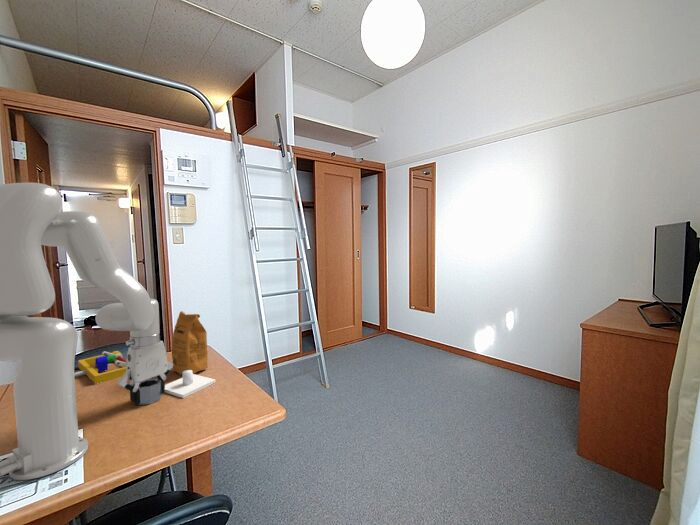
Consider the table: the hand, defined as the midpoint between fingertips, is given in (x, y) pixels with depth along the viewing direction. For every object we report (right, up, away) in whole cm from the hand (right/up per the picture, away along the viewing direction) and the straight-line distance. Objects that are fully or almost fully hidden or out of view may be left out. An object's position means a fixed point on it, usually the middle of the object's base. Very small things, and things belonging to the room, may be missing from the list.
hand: (148, 397), depth 96 cm
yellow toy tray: (-33, -1, +23) cm, 41 cm away
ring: (0, -1, 0) cm, 1 cm away
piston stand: (+8, 0, +9) cm, 12 cm away
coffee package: (+1, 0, +22) cm, 22 cm away
